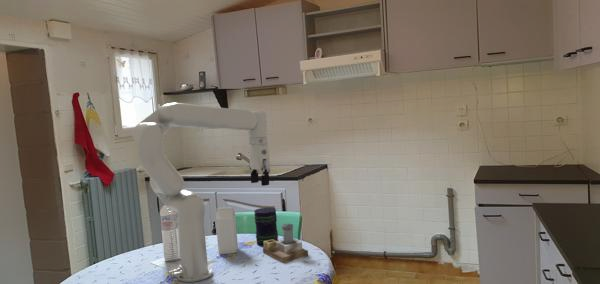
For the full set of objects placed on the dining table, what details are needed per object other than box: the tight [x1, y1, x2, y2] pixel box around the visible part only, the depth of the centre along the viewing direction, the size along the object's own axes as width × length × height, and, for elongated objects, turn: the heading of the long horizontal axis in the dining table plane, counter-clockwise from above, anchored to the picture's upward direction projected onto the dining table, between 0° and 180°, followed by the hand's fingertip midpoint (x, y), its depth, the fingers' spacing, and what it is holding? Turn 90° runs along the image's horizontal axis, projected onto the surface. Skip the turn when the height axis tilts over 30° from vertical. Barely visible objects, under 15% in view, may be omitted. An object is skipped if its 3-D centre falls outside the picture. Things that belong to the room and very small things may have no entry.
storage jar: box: [253, 207, 279, 247], centre depth 197 cm, size 10×10×15 cm
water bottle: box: [159, 203, 181, 262], centre depth 183 cm, size 7×7×25 cm
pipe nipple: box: [281, 223, 294, 245], centre depth 180 cm, size 5×5×10 cm
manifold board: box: [262, 238, 309, 264], centre depth 180 cm, size 12×16×5 cm
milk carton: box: [215, 206, 239, 255], centre depth 189 cm, size 7×7×19 cm
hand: (259, 183), depth 178 cm, fingers open, 9 cm apart
